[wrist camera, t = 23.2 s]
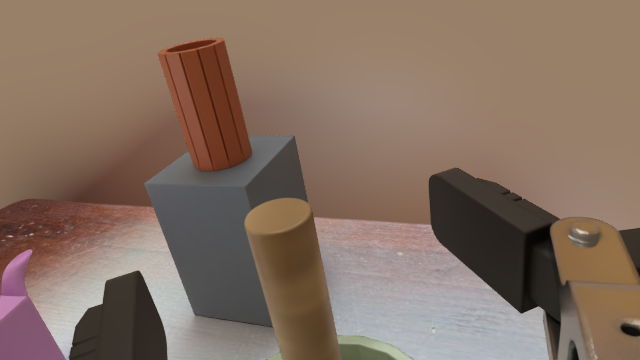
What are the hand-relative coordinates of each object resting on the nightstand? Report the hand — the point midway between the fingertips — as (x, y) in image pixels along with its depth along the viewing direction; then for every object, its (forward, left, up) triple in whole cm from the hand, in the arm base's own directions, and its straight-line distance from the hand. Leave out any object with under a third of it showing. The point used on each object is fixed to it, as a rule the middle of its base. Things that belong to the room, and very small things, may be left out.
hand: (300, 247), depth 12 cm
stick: (+2, -2, -16) cm, 17 cm away
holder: (+14, -16, -17) cm, 27 cm away
